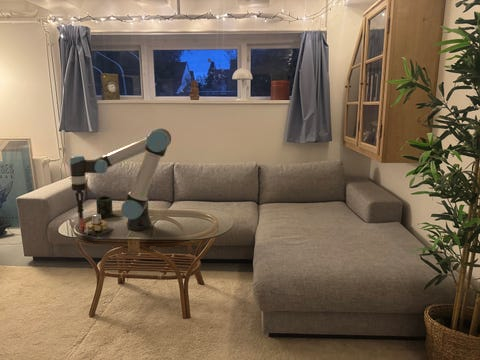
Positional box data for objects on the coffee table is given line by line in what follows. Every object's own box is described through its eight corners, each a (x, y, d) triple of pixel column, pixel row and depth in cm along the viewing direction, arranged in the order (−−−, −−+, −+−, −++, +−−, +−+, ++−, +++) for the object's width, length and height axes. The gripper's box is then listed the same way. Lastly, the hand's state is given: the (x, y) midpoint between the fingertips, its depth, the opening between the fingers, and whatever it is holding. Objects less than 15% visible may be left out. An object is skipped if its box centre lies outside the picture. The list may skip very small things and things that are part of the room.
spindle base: (113, 229, 227) (112, 213, 225) (95, 237, 213) (94, 220, 211) (96, 226, 231) (96, 211, 229) (78, 233, 218) (77, 217, 216)
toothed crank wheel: (102, 224, 231) (101, 211, 230) (111, 229, 223) (111, 215, 221) (75, 230, 220) (74, 216, 218) (84, 235, 211) (83, 221, 210)
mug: (115, 212, 261) (115, 196, 258) (106, 219, 246) (106, 201, 244) (100, 212, 261) (100, 195, 259) (91, 218, 247) (90, 201, 245)
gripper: (71, 180, 216) (73, 219, 221) (71, 185, 205) (74, 226, 210) (85, 180, 219) (87, 218, 224) (86, 184, 208) (88, 224, 213)
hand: (81, 222), depth 217 cm, fingers closed
